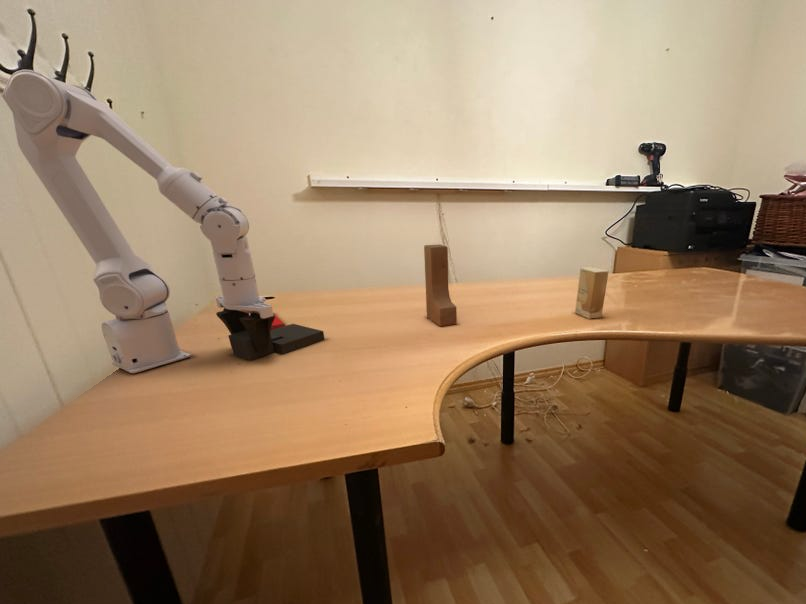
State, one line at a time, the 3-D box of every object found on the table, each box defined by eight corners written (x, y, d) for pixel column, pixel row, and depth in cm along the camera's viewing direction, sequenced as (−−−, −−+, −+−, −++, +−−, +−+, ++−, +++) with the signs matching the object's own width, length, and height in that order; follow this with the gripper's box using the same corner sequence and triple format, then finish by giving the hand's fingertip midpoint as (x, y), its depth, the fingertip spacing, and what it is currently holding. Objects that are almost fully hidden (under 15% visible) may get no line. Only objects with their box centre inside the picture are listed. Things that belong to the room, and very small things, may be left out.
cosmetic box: (574, 313, 108) (579, 267, 104) (587, 311, 110) (592, 266, 106) (589, 319, 103) (595, 271, 98) (602, 317, 105) (609, 270, 100)
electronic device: (247, 316, 101) (258, 332, 90) (246, 314, 101) (257, 329, 90) (272, 313, 104) (286, 327, 93) (271, 311, 104) (285, 325, 93)
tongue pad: (250, 360, 75) (245, 340, 74) (233, 354, 78) (228, 335, 76) (287, 347, 81) (283, 328, 80) (270, 341, 84) (266, 323, 82)
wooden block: (457, 324, 98) (456, 248, 91) (440, 326, 96) (438, 249, 89) (442, 315, 105) (440, 244, 98) (426, 317, 103) (423, 245, 96)
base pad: (283, 354, 78) (281, 344, 78) (252, 344, 83) (250, 335, 82) (324, 339, 86) (323, 330, 86) (294, 331, 91) (293, 323, 90)
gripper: (282, 278, 73) (294, 348, 78) (235, 270, 79) (250, 335, 84) (244, 285, 67) (260, 360, 72) (197, 276, 74) (215, 345, 79)
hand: (252, 347), depth 78 cm, fingers closed on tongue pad, 5 cm apart
